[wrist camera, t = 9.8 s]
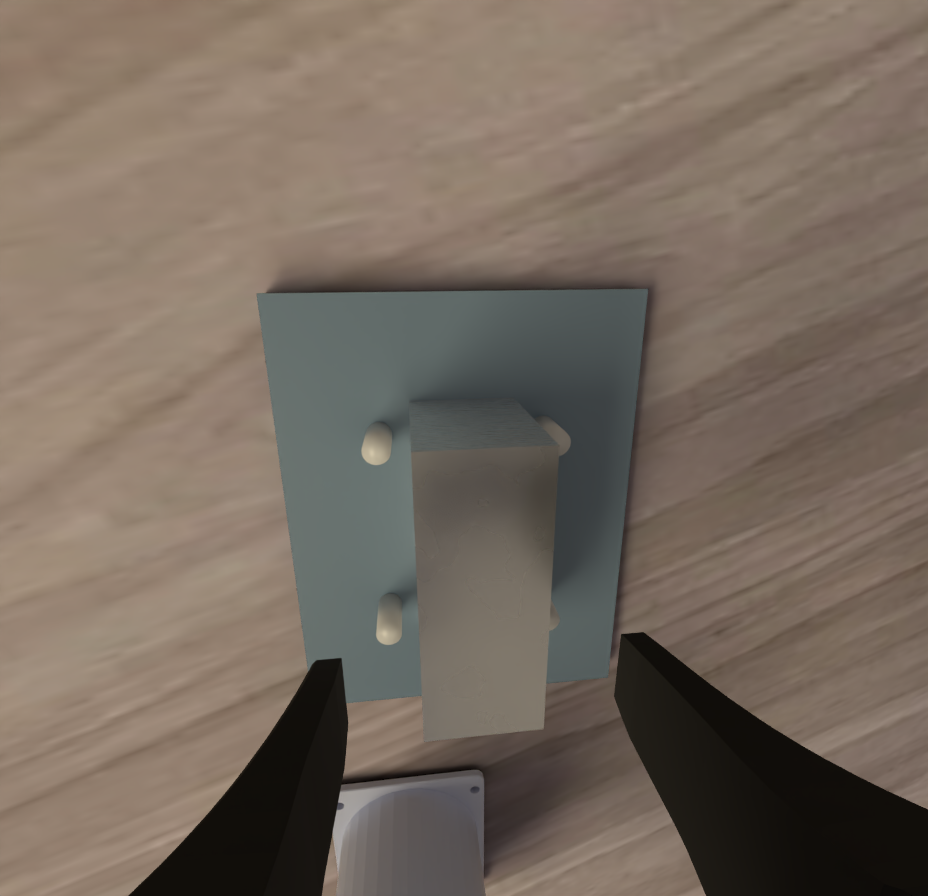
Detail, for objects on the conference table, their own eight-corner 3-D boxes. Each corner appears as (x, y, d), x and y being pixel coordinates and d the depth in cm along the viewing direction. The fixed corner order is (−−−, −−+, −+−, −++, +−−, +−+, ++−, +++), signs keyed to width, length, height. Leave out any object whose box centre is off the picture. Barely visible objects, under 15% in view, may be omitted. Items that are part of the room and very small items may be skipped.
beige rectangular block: (510, 615, 22) (546, 728, 16) (418, 622, 22) (424, 741, 16) (515, 397, 19) (562, 445, 13) (408, 401, 19) (410, 451, 13)
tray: (600, 662, 25) (625, 711, 22) (316, 689, 23) (304, 744, 21) (636, 288, 19) (676, 289, 16) (264, 293, 18) (237, 294, 15)
